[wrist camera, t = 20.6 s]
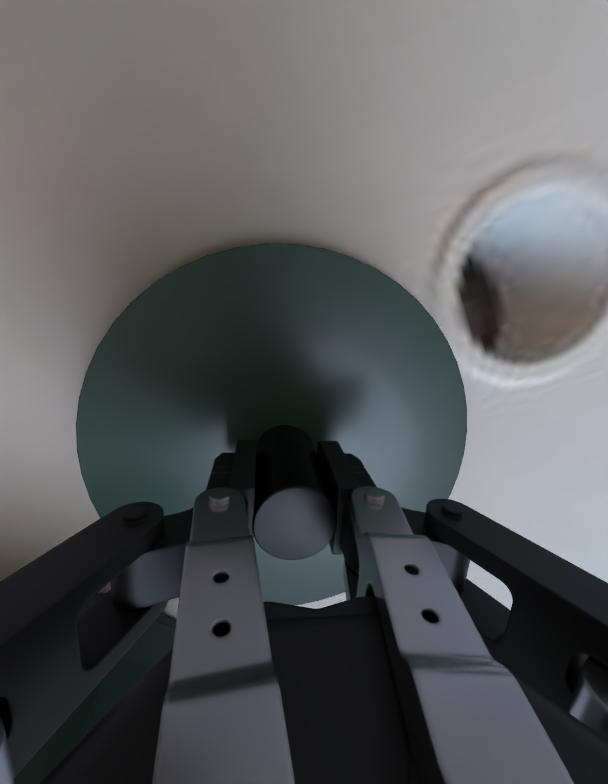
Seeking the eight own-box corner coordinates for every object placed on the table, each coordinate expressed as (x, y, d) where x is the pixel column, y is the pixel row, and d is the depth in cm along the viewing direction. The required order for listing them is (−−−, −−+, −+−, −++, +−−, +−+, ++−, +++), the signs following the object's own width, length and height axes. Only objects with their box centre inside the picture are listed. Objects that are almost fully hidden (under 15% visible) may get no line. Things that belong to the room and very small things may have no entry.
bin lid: (69, 230, 12) (-101, 167, 6) (482, 264, 14) (631, 240, 9) (107, 594, 16) (22, 756, 11) (425, 580, 18) (499, 708, 13)
